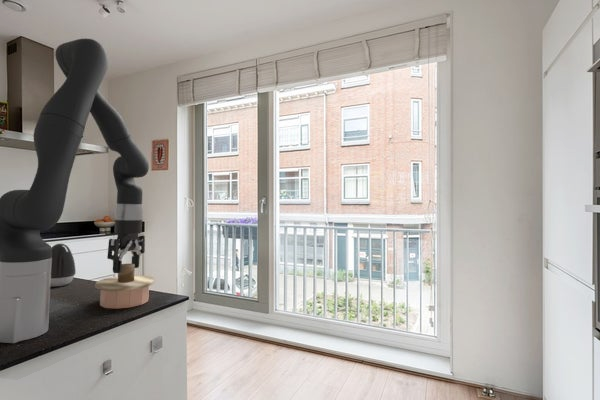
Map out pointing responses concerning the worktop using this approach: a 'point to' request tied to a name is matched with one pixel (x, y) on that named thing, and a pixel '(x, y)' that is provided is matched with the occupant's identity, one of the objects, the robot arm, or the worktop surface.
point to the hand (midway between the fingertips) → (126, 270)
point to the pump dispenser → (62, 266)
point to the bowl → (124, 298)
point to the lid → (125, 280)
